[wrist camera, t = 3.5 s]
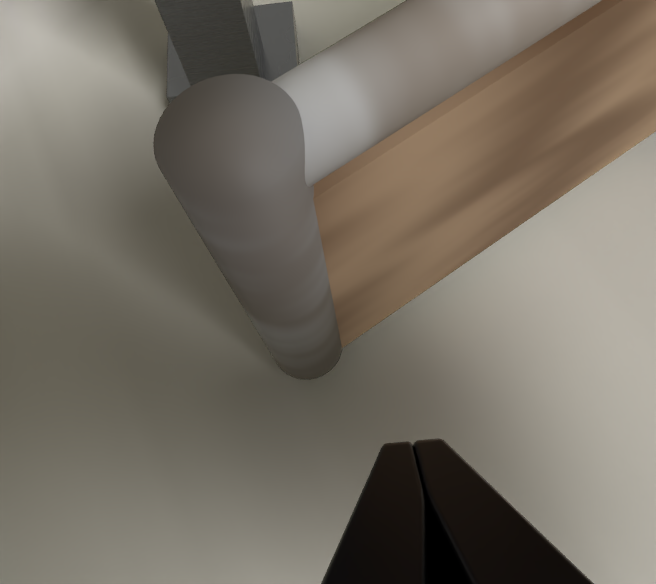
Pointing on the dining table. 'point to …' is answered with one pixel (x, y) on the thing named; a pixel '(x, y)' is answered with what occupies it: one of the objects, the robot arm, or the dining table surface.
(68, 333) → the dining table surface
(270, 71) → the gate posts
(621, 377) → the dining table surface
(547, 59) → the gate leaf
